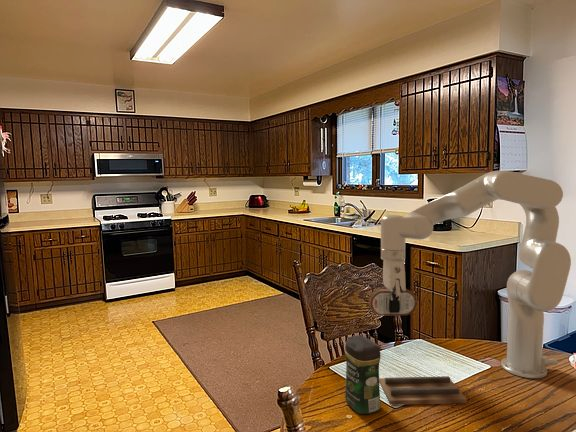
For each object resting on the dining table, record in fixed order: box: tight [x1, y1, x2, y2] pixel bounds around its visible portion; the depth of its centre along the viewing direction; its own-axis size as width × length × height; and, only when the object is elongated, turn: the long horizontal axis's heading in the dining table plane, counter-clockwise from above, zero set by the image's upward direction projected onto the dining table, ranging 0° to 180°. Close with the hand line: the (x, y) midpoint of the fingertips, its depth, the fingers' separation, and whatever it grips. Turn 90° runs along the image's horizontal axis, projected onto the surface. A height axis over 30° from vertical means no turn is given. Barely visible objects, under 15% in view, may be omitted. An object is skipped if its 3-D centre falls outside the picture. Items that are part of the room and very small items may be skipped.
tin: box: [368, 288, 418, 317], centre depth 128 cm, size 15×3×8 cm, turn 90°
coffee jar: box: [344, 334, 382, 415], centre depth 107 cm, size 10×8×19 cm
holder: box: [379, 375, 468, 406], centre depth 114 cm, size 21×12×3 cm, turn 91°
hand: (392, 310), depth 128 cm, fingers closed on tin, 2 cm apart
